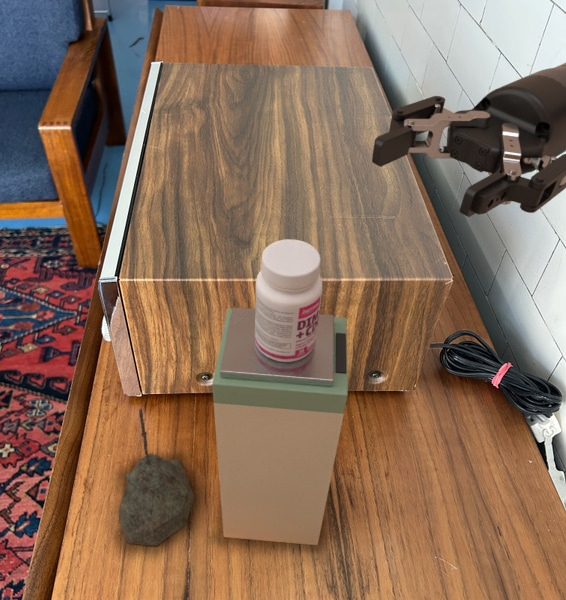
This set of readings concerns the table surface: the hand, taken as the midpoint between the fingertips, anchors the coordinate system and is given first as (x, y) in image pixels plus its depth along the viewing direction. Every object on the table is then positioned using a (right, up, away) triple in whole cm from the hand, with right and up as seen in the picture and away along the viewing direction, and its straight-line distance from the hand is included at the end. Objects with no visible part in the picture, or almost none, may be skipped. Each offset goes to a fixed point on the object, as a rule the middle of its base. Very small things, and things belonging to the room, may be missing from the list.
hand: (419, 177), depth 42 cm
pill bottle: (-10, -12, +2) cm, 16 cm away
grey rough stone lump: (-24, -31, +21) cm, 45 cm away
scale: (-10, -15, +4) cm, 18 cm away
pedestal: (-11, -32, +21) cm, 40 cm away
